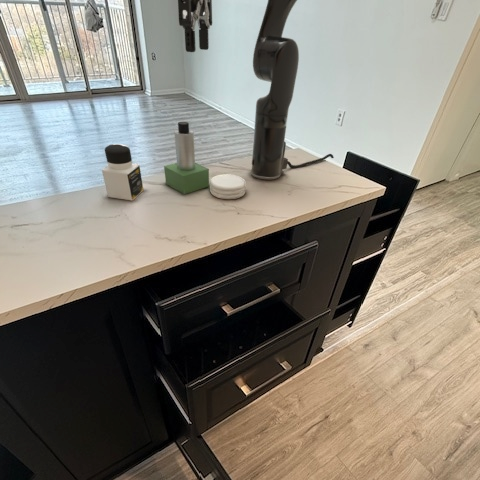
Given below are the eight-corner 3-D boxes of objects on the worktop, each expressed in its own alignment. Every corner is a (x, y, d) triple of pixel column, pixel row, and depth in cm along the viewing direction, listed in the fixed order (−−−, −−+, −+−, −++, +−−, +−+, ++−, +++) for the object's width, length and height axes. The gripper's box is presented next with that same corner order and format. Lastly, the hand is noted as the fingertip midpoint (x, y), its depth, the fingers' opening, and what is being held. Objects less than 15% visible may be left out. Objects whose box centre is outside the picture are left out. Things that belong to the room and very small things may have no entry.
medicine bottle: (132, 201, 84) (123, 152, 76) (107, 197, 85) (95, 148, 76) (144, 190, 89) (136, 143, 81) (120, 187, 90) (110, 140, 81)
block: (190, 177, 98) (189, 159, 94) (209, 186, 93) (208, 168, 90) (165, 184, 93) (163, 166, 90) (184, 194, 89) (182, 175, 85)
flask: (188, 163, 92) (185, 119, 84) (198, 168, 90) (196, 123, 82) (173, 166, 90) (169, 122, 82) (184, 172, 87) (181, 126, 79)
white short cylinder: (225, 203, 86) (225, 190, 83) (203, 191, 91) (202, 178, 88) (252, 194, 91) (253, 181, 88) (229, 183, 96) (229, 171, 93)
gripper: (197, -57, 60) (201, 54, 71) (222, -47, 70) (221, 50, 81) (161, -58, 61) (170, 51, 72) (190, -48, 71) (194, 47, 82)
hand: (197, 50), depth 77 cm, fingers open, 8 cm apart
